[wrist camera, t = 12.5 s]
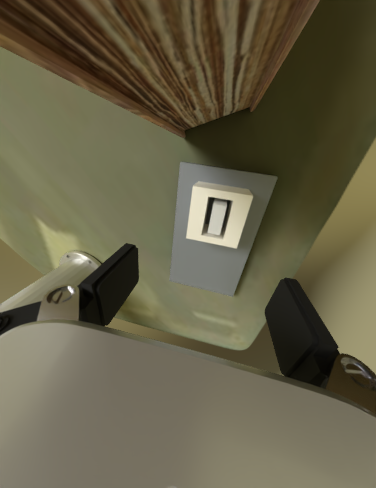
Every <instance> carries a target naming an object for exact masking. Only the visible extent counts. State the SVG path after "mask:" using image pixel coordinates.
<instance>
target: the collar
mask: <svg viewBox="0 0 376 488" xmlns="http://www.w3.org/2000/svg"><path fill="white" fill-rule="evenodd" d="M210 197H214V198H220V199H226V200H230V204H229V208H228V212H227V216H226V220H225V224H224V227H222V228H221V232H220V235H216V234H211V233H207V232H208V228H209V224H205V221H206V215H207V210H208V205H209V199H210ZM252 199H253V195H252V193H251V192H250V191H249V189H244V188H238V187H232V186H225V185H219V184H213V183H207V182H200V181H198V182H197V183H196V184H195V185H193V189H192V196H191V204H190V212H189V220H188V227H187V235H186V238H188V239H193V240H197V241H202V242H207V243H212V244H217V245H222V246H227V247H231V248H236V249H237V246H238V243H239V240H240V236H241V233H242V230H243V227H244V224H245V221H246V218H247V214H248V211H249V208H250V205H251V202H252Z"/></svg>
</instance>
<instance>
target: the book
mask: <svg viewBox="0 0 376 488" xmlns="http://www.w3.org/2000/svg"><path fill="white" fill-rule="evenodd" d="M319 1H320V0H0V46H1V47H3V48H5V49H7V50H9V51H11V52H13V53H15V54H17V55H19V56H21V57H23V58H25V59H27V60H29V61H31V62H33V63H35V64H37V65H39V66H41V67H43V68H45V69H47V70H49V71H51V72H53V73H55V74H57V75H58V76H60V77H62V78H64V79H66V80H68V81H70V82H72V83H74V84H76V85H78V86H80V87H82V88H84V89H86V90H88V91H90V92H92V93H94V94H96V95H98V96H100V97H102V98H104V99H106V100H108V101H110V102H112V103H114V104H116V105H118V106H120V107H122V108H124V109H126V110H128V111H130V112H132V113H134V114H136V115H138V116H140V117H142V118H144V119H146V120H148V121H150V122H152V123H154V124H156V125H158V126H160V127H162V128H164V129H166V130H168V131H170V132H172V133H174V134H176V135H178V136H180V137H182V138H184V137H186V136H185V131H184V130H187V129H190V128H193V127H195V126H198V125H201V124H204V123H207V122H209V121H212V120H215V119H218V118H220V117H223V116H226V115H229V114H232V113H234V112H237V111H240V110H243V109H246V108H248V107H250V112H252V111H254V110H255V108H256V107H257V105H258V103H259V102H260V100H261V98H262V97H263V95H264V93H265V92H266V90H267V88H268V87H269V85H270V83H271V82H272V80H273V78H274V77H275V75H276V73H277V71H278V70H279V68H280V66H281V65H282V63H283V61H284V60H285V58H286V56H287V55H288V53H289V51H290V50H291V48H292V46H293V45H294V43H295V41H296V40H297V38H298V36H299V35H300V33H301V31H302V30H303V28H304V26H305V24H306V23H307V21H308V19H309V18H310V16H311V14H312V13H313V11H314V9H315V8H316V6H317V4H318V3H319Z"/></svg>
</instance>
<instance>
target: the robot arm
mask: <svg viewBox="0 0 376 488" xmlns="http://www.w3.org/2000/svg"><path fill="white" fill-rule="evenodd" d="M59 265H60V266H59V267H57V268H56V269H54V270H53V271H51V272H50V273H48V274H46V275H45V276H43V277H42V278H40V279H39V280H37V281H36V282H34V283H33V284H31V285H29V286H28V287H26V288H25V289H23V290H22V291H20V292H19V293H17V294H16V295H14V296H12V297H11V298H9V299H8V300H6V301H5V302H3V303H2V304H0V488H376V375H375V373H374V372H373V371H372V370H371V369H370V368H369V367H368V366H366V365H365V364H364V363H363V362H361V361H360V360H358V359H357V358H355V357H353V356H351V355H348V354H343V353H342V354H340V353H339V351H338V350H337V348H338V345H337V344H336V342H335V341H334V339H333V337H332V336H331V334H330V332H329V331H328V329H327V328H326V326H325V324H324V323H323V321H322V320H321V318H320V316H319V315H318V313H317V312H316V310H315V308H314V307H313V305H312V304H311V302H310V300H309V299H308V297H307V296H306V294H305V292H304V291H303V289H302V287H301V286H300V284H299V283H298V281H297V280H295V279H290V278H284V279H281V280H280V282H279V284H278V286H277V288H276V290H275V291H274V293H273V295H272V297H271V299H270V301H269V303H268V305H267V306H266V308H265V316H266V320H267V323H268V327H269V330H270V334H271V338H272V341H273V345H274V349H275V353H276V356H277V360H278V363H279V367H280V370H281V373H282V374H283V375H284V376H282V375H278V374H275V373H271V372H267V371H264V370H261V369H257V368H254V367H250V366H247V365H243V364H239V363H236V362H233V361H229V360H225V359H222V358H218V357H215V356H211V355H208V354H204V353H200V352H197V351H193V350H190V349H186V348H182V347H179V346H175V345H172V344H168V343H164V342H161V341H157V340H153V339H150V338H146V337H142V336H139V335H135V334H131V333H128V332H124V331H120V330H116V329H112V328H108V327H104V326H105V325H108V324H109V323H110V322H111V320H112V319H113V317H114V316H115V315H116V313H117V312H118V310H119V309H120V307H121V306H122V304H123V303H124V302H125V300H126V299H127V297H128V296H129V294H130V293H131V291H132V290H133V289H134V287H135V286H136V284H137V283H138V280H139V269H138V248H136V246H135V245H132V244H128V243H126V244H125V245H124V246H122V247H121V248H120V249H119V250H118V251H117V252H115V253H114V254H113V255H112V256H111V257H110V258H108V259H107V260H106V261H105V262H104V263H103V264H101V263H100V262H99V261H98V260H96V259H95V258H94V257H92V256H90V255H89V254H86V253H84V252H80V251H70V252H68V253H66V254H64V255H63V256H62V257H61V259H60V263H59Z"/></svg>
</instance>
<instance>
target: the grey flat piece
mask: <svg viewBox="0 0 376 488" xmlns="http://www.w3.org/2000/svg"><path fill="white" fill-rule="evenodd" d="M277 178H278V177H277V176H273V175H267V174H260V173H254V172H247V171H240V170H234V169H227V168H221V167H214V166H208V165H201V164H194V163H188V162H180V170H179V182H178V193H177V204H176V215H175V226H174V237H173V248H172V259H171V270H170V281H172V282H176V283H180V284H184V285H188V286H192V287H196V288H200V289H204V290H208V291H212V292H216V293H220V294H224V295H228V296H232V297H233V295H234V292H235V290H236V287H237V284H238V282H239V279H240V276H241V274H242V271H243V269H244V266H245V263H246V261H247V258H248V255H249V253H250V250H251V247H252V245H253V242H254V239H255V237H256V234H257V231H258V229H259V226H260V223H261V221H262V218H263V215H264V213H265V210H266V207H267V205H268V202H269V199H270V197H271V194H272V191H273V189H274V186H275V183H276V181H277ZM198 181H200V182H207V183H213V184H219V185H225V186H232V187H238V188H244V189H249V191H250V192H251V193H252V195H253V199H252V202H251V205H250V208H249V211H248V214H247V218H246V221H245V224H244V227H243V230H242V233H241V236H240V240H239V243H238V246H237V249H236V248H231V247H227V246H222V245H217V244H212V243H207V242H202V241H197V240H193V239H188V238H186V235H187V227H188V220H189V212H190V204H191V196H192V189H193V185H195V184H196V183H197V182H198ZM229 204H230V200H226V199H220V198H214V197H210V199H209V205H208V210H207V215H206V221H205V224H209V228H208V232H207V233H211V234H216V235H220V232H221V228H222V227H224V224H225V220H226V216H227V212H228V208H229Z"/></svg>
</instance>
